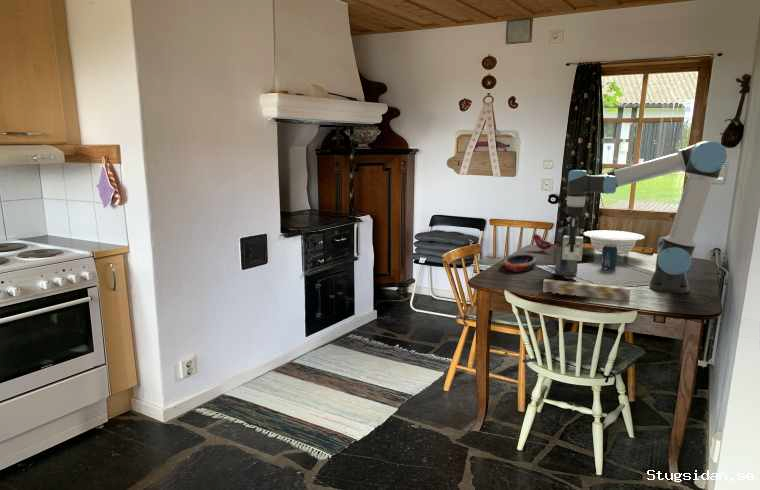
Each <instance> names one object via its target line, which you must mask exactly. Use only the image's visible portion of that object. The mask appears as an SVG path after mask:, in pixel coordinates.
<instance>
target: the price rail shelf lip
mask: <svg viewBox="0 0 760 490" xmlns="http://www.w3.org/2000/svg"><path fill="white" fill-rule="evenodd" d="M542 292H543V293H547V292H552V293H551V294H556V293H559V294H558V295H565V294H566V296H567V295H568V296H575V295H576V296H577V297H586V298H587V297H588V298H594V299H595V298H596V299H605V300H614V301H621V302H623V301H625V302H630V297H631V287H629V286H618V285H607V284H596V283H586V282H585V283H584V282H576V281H565V280H555V279H545V278H544V279H543V283H542Z"/></svg>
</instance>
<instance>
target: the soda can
mask: <svg viewBox="0 0 760 490" xmlns="http://www.w3.org/2000/svg"><path fill="white" fill-rule="evenodd" d="M603 245H604V247H603V246H602V247H603V251H602V252H601V253H602V254H601V267H603V268H607V269H613V270H615V269H616V268H617V260H618V258H617V257H618V255H617V247H616V245H617V244H616V245H610V244H608V245H607V244H606V245H605V244H603ZM603 268H602V269H603ZM607 269H606V270H607Z"/></svg>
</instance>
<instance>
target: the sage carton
mask: <svg viewBox="0 0 760 490" xmlns="http://www.w3.org/2000/svg"><path fill="white" fill-rule="evenodd" d="M567 243H569V236H565V235H564V237H563V249H562V259H564V260H576V261H578V262H582V258H583V248H584V247H583V246H584V236H580V235H579V236H576V240H575V243H576V244H575V245H576V246H575V259H568V251H569V244H567Z"/></svg>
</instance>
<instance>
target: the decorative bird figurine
mask: <svg viewBox="0 0 760 490" xmlns="http://www.w3.org/2000/svg"><path fill="white" fill-rule="evenodd" d="M532 238H533V239H534V243H535V245H536V247H538V248H539V249H540V250H538V251H539V252H542V253H545V252H546V250H547V249H550V248H551V247H554V246H557V244H558V243H551V242H550V241H548V240H546V239H544V238H542V237H541V236H540V235H539V234H537V233H535V234H534V235H533V236H532Z"/></svg>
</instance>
